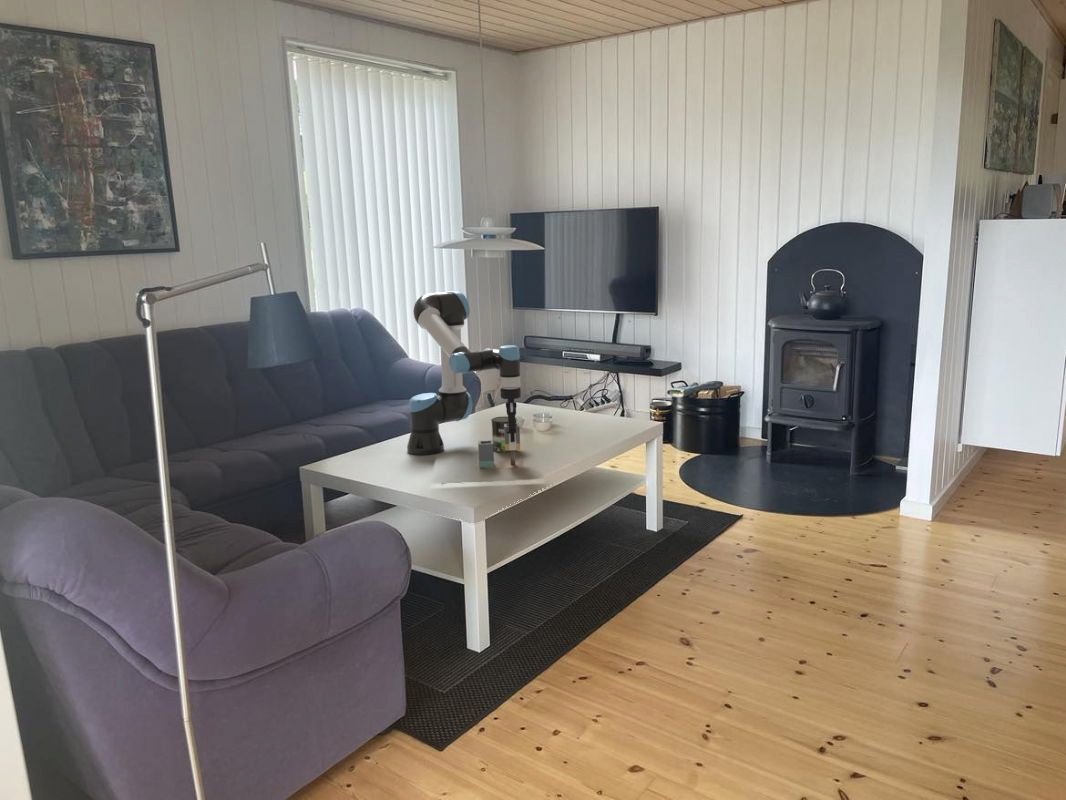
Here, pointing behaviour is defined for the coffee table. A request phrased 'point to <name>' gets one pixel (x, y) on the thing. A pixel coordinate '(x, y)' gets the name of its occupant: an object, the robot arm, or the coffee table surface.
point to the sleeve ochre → (506, 429)
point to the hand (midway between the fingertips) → (512, 447)
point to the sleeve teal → (486, 454)
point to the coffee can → (499, 433)
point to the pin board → (505, 463)
